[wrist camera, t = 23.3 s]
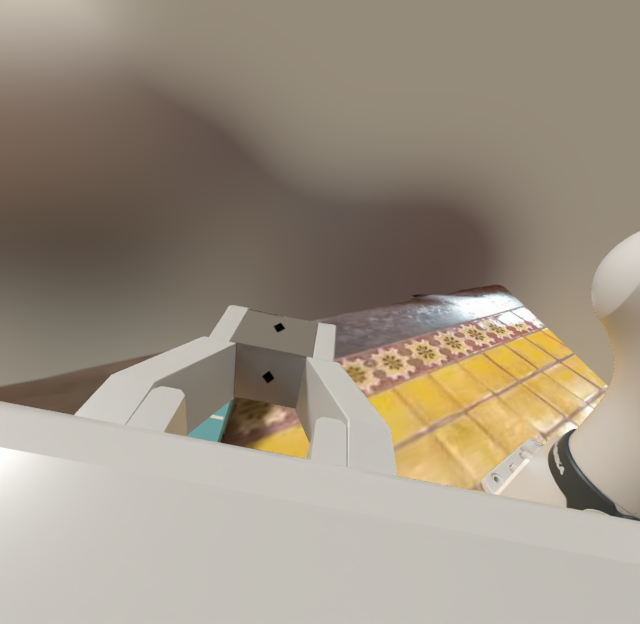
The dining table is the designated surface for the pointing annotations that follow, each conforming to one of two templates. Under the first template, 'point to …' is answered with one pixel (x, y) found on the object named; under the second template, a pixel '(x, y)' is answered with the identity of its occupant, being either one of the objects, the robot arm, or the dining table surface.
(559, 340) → the dining table surface
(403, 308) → the dining table surface
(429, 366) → the dining table surface
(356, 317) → the dining table surface
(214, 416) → the teal domino
